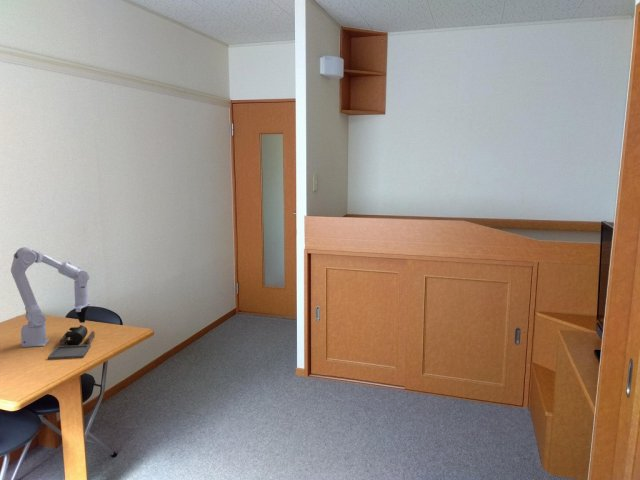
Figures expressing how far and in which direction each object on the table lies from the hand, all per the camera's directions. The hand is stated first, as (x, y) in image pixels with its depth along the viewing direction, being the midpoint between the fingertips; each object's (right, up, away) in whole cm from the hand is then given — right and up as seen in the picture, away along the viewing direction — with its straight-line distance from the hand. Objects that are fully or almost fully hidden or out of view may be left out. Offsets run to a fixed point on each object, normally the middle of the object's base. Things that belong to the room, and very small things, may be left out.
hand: (82, 322), depth 238 cm
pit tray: (+5, -10, -22) cm, 24 cm away
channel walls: (+2, -8, -9) cm, 12 cm away
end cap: (+2, -8, -10) cm, 13 cm away
